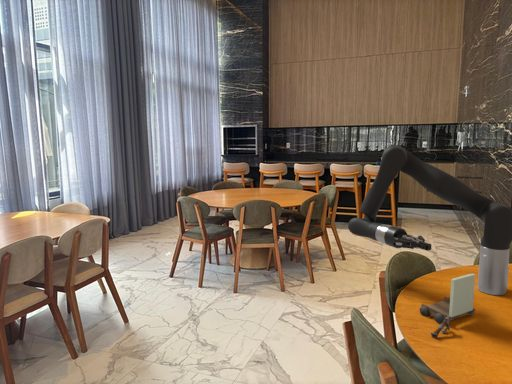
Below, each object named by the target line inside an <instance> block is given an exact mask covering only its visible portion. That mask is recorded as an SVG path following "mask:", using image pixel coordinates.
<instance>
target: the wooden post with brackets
mask: <svg viewBox="0 0 512 384" xmlns="http://www.w3.org/2000/svg"><path fill="white" fill-rule="evenodd" d="M448 322H449V318H445V319H444V320H443V323H440V324H439V325H438V327H437V329H436V330H435V331H431V332H430V335H431V338H432V337H433V338H434V339H437V340H438V339H439V337H438V336H439V334H440V333H441V334H442V335H445V334H447V333H448V331H450V329H451V327H450V324H448Z"/></svg>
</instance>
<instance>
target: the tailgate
mask: <svg viewBox="0 0 512 384" xmlns="http://www.w3.org/2000/svg"><path fill="white" fill-rule="evenodd" d="M475 283H476V274H475V273H469V274H464V275H461V276H457V277H454V278H451V280H450V295H449V298H450V309H449V316H450V317H454V316H457V315H460V314H463V313H466V312H469V311H472V310H473V308H474V297H475V285H476V284H475Z"/></svg>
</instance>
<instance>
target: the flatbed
mask: <svg viewBox="0 0 512 384" xmlns="http://www.w3.org/2000/svg"><path fill="white" fill-rule="evenodd" d="M449 309H450V297H449V298H448V297H446V296H444V298H443V300H442V301H441V300H440V301H437V302H435V303H430V304H428V305H426V304H424V303H422V304H421V305H420V307H419V313H420V314H421V316H423V317H426V316H431V317H433V318H434V319H433V320H434V321H435V322H436V323H437V324H439V325H441V324H442V323H443V320H444V319H445V318H449V322H448V324H449V325H450V321H452V320H456V319H458V318H461V317H464V316H467V315H470V316H474V315H475V312H476V308H474V307H473V310H472V311H469V312H466V313H463V314H460V315H457V316H454V317H450V316H449Z"/></svg>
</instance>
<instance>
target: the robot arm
mask: <svg viewBox="0 0 512 384" xmlns="http://www.w3.org/2000/svg"><path fill="white" fill-rule="evenodd" d="M380 161H381V162H380V164H379V169H378V172H377V174H376V176H375V179H374V181H373V183H371V186H370V187H369V189H368V191H367V193H366V195H365V197H364V198H363V201H362V204H361V205H360V207H359V210H360V213H362V214H363V215H364V217H363V218H361V217H353V218H351V219H350V220H349V221H348V223H347V229H348V231H349V232H350V233H351V234H352V235H355V236H358V237H363V238H368V239H371V240H374V241H375V242H380V243H381V244H383V245H387V246H389V247H392V248H395V249H402V248H403V249H409V250H414V249H421V250H424V251H427V252H429V251H431V250H432V244H431V243H428V242H426V240H425V237H423V236H422V235H418V236H414V235H413V234H409V233H407V230H406V229H404V228H401V227H398V226H394V225H391V224H384V223H380V222H376V220H377V217H378V212H379V210H380V208H381V207H382V204H383V202H384V200H385V198H386V196H387V194H388V191H389V189H390V187H391V186H392V183H393V182H394V179H395V178H396V177H397V175H398V174H399V173H400V172H402V173H403V174H405V175H407V176H409V177H411V178H412V179H414V181H416V182H417V183H418V184H419V185H421V186H422V188H424V189H425V190H427V191H428V192H429V193H431V194H433V195H434V196H436V197H437V198H440V199H442V200H444V201H446V202H447V203H449V204H452V205H454V206H458V207H461V208H463V209H464V210H467V211H468V212H470V213H471V214H473V215H474V216H475V217H477V218H478V219H480V220H481V221H482V222H483V223H484V229H483V236H481V238H480V248H479V262H478V263H479V264H478V275H477V276H478V277H477V278H478V279H477V291H480V292H482V293H484V294H487V295H492V296H503V295H506V293H507V291H508V283H509V274H510V272H509V270H510V267H509V261H510V251H511V250H510V249H511V244H512V209H511V208H510V207H509V206H506V205H505V204H502V203H501V202H498V201H496V200H493V199H490V198H489V197H487V196H484V195H482V194H480V193H478V192H476V191H475V190H474V189H472V188H471V187H470V186H469V185H467V184H466V183H464V182H463V181H461V180H460V179H459V178H457V177H455V176H453V175H452V174H449V173H448V172H446V171H444V170H442V169H440V168H438V167H436V166H435V165H432V164H430V163H427V162H425V161H423V160H422V159H419V158H418V157H417V156H415V155H414V154H413V153H410V152H409V151H408V150H406V148H404V147H403V146H401V145H398V144H391V145H389V146H388V147H386V148H385V149H384V150H383V152H382V155H381V160H380Z"/></svg>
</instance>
